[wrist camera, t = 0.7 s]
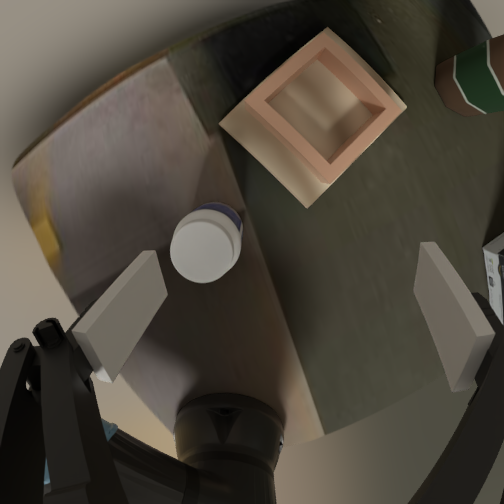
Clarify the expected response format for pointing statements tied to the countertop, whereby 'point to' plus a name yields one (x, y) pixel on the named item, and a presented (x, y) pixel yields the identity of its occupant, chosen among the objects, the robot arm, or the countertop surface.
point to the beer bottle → (473, 79)
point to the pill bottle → (207, 242)
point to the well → (351, 78)
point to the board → (306, 122)
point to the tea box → (495, 274)
